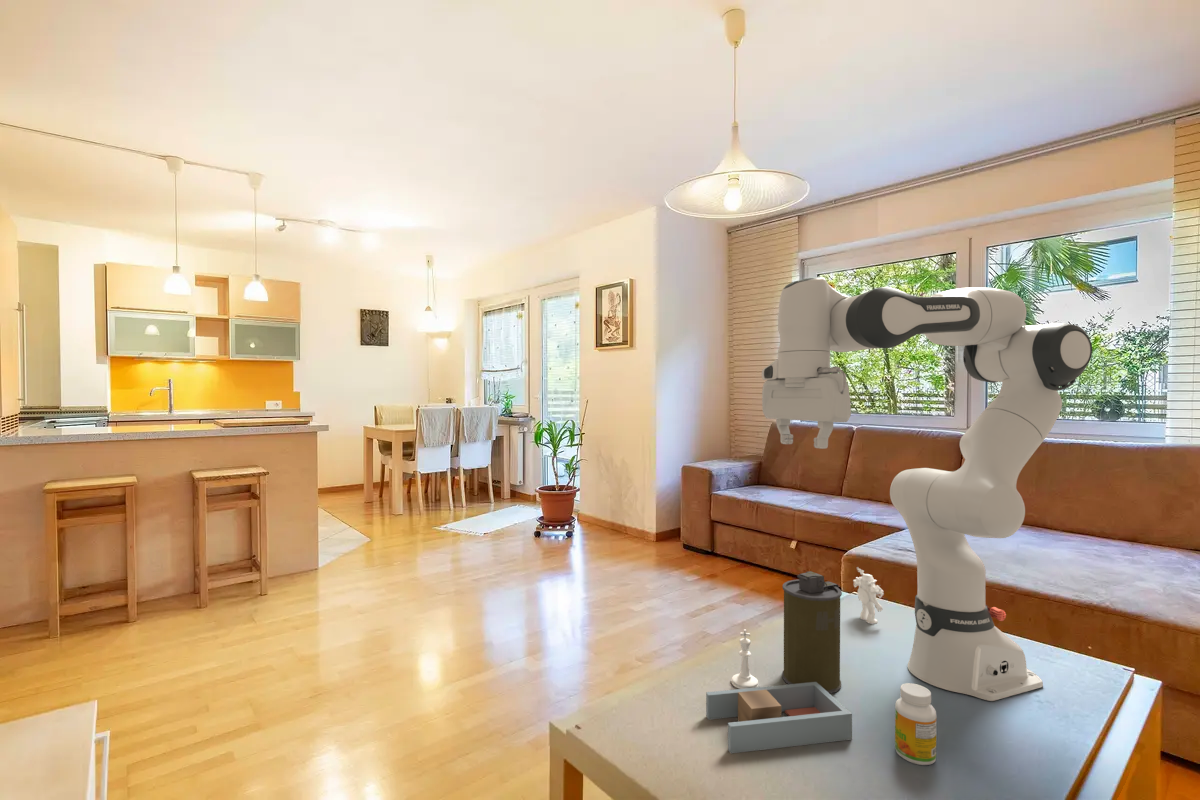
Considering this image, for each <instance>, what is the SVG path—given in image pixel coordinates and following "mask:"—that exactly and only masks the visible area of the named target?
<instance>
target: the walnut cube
mask: <svg viewBox="0 0 1200 800" xmlns="http://www.w3.org/2000/svg"><path fill="white" fill-rule="evenodd" d="M779 717H782V712H781V705H780V704H779V703H778V702H777V700H776V699H775V698H774V697H773V696H772V695H771V694H770V693H769V692H768V691H767V690H757V691H746V692H738V717H737V722H741V721H750V720H760V719H769V718H779Z"/></svg>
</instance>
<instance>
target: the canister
mask: <svg viewBox="0 0 1200 800" xmlns="http://www.w3.org/2000/svg"><path fill="white" fill-rule="evenodd" d="M796 577H797V579H792V580H787V581H785V582H784V583H783V584H782V589H783V670H782V672H781V677H782V679H783V681H784V682H785V683H786V685H788V684H799V683H809V682H817V683H818V684H819V685H820V686H822V687H823V688H824V689H825V690H826V691H827V692H828V693H829V694H830V695H832V694H834V693H837V692H839V690H840V689H841V688H842V681H841V597H842V595H843V592H842V590H841V589H840V588H839V585H838V583H834V582H832V581H825V576H824V575H822V574H820V573H816V572H813V571H812V570H810V571H809V570H808V571H806V572H803V573H799V574H797V576H796Z"/></svg>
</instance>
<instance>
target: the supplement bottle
mask: <svg viewBox="0 0 1200 800" xmlns="http://www.w3.org/2000/svg"><path fill="white" fill-rule="evenodd" d="M899 692H900V694H899V695H900V697H899V698H898V699H897V700H896V701H895V705H894V714H895V715H894V725H895V726H894V749H895V751H896V753H897V755H898V756H900V757H901V758H902V759H904V760H905V761H907V762H909V763H911V764H914V765H919V766H928V765H932V764H934V763H935V762H936V760H937V710H936V709H935V707H934V706H933V705H932V704H931V703H932V692H931V691H930V690H929V689H928V688H927V687H925V686H923V685H920V684H916V683H913V682H912V683H911V682H910V683H909V682H906V683H902V684H901V685H900V691H899Z"/></svg>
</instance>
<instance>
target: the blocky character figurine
mask: <svg viewBox="0 0 1200 800" xmlns="http://www.w3.org/2000/svg"><path fill="white" fill-rule="evenodd" d="M856 571H857V572H858V573H860V575H861V576H859V577H858V576H856V577H855V579H853V580H852V582H853V587H854V588H857V587H858V589H857V594H858V595H857V597H858V601H861V603H862V606H861V607H862V610H861V612H860V616H859V619H861V620H863V621H866V623H868V624H873V625H875V624H878V621H879V620H878V619H876V618H875V617H876V610H877V612H882V611H883V606H882V605H881V604H880V603H879V601H878V599H877V597H878V598H879V599H881V598H882V597H883V596H884V595H885V593H884V590H883V589H882V588H881V587H880V585H878V584H876V582H877V581H878V580H877V579H874V577H873V575H872V574H869V573H864V572H865V570H863V569H861V568H859V566H857V567H856ZM875 609H876V610H875Z"/></svg>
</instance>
